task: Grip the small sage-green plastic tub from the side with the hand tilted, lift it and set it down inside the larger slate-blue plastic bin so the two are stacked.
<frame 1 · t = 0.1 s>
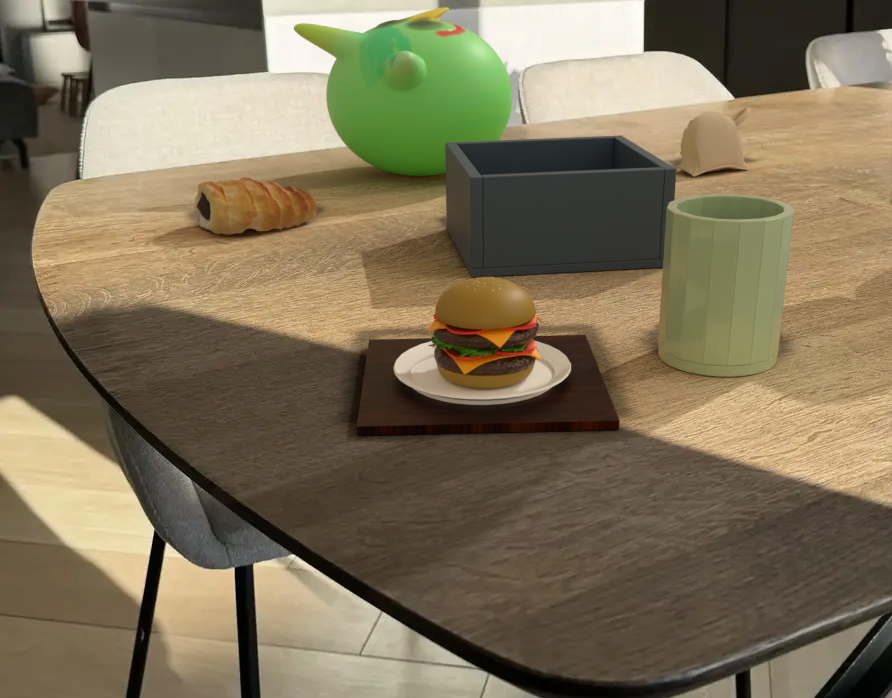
pastry: (250, 228, 89), on the table
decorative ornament: (714, 172, 106), on the table
toy bird: (416, 176, 106), on the table
hamburger: (482, 388, 57), on the table
tub: (716, 356, 60), on the table
bin: (550, 247, 81), on the table
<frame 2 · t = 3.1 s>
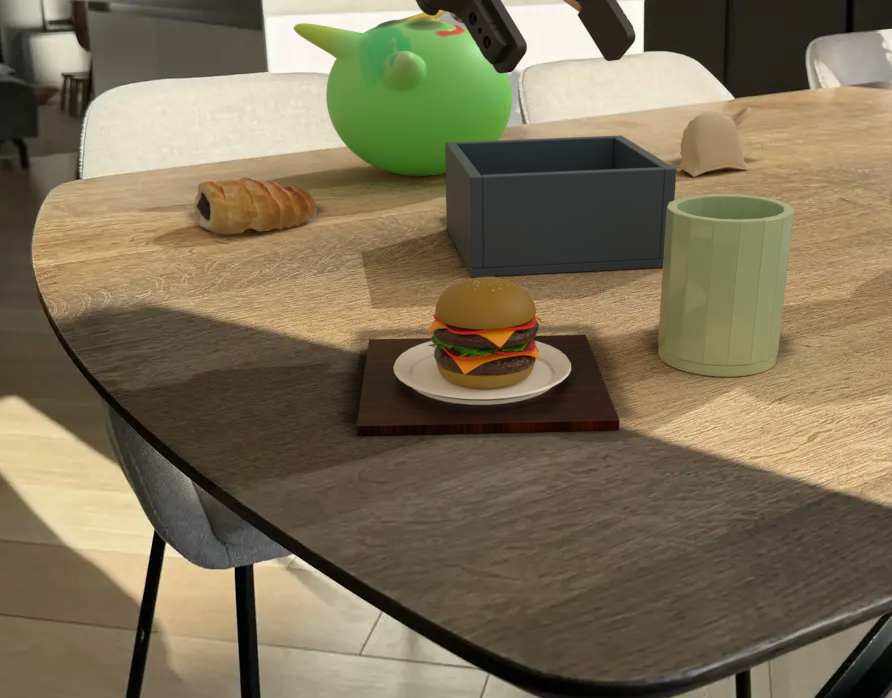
hand: (571, 56, 61), 15 cm above the table, tool tilted 45°, fingers open, 8 cm apart
nothing on the table moved.
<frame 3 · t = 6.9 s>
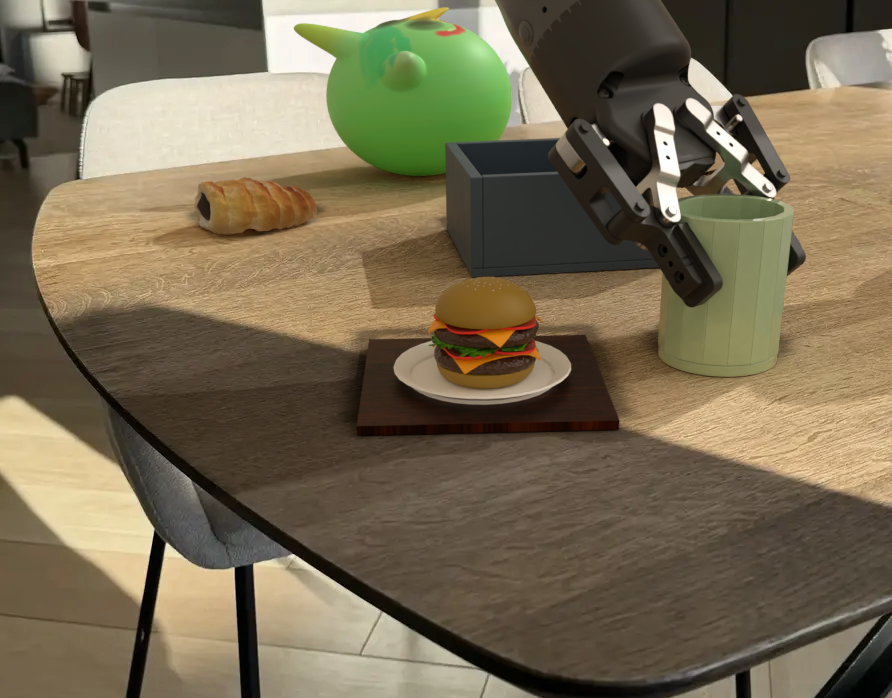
hand: (750, 283, 57), 4 cm above the table, tool tilted 45°, fingers closed on tub, 6 cm apart
tub: (716, 356, 60), on the table, touching gripper
everything else where it was.
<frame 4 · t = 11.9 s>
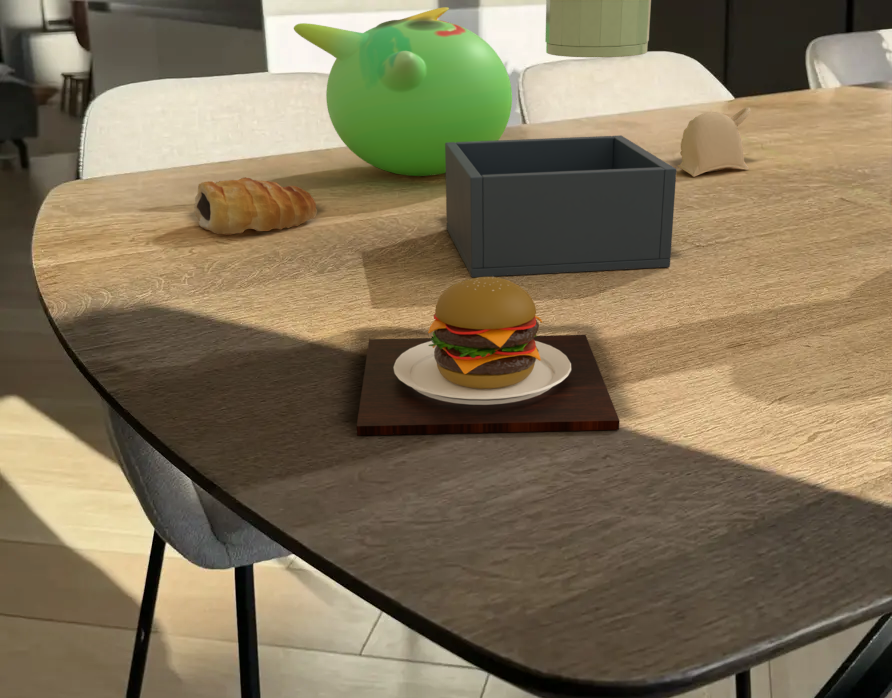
tub: (596, 52, 69), point 14 cm above the table, touching gripper
everything else where it was.
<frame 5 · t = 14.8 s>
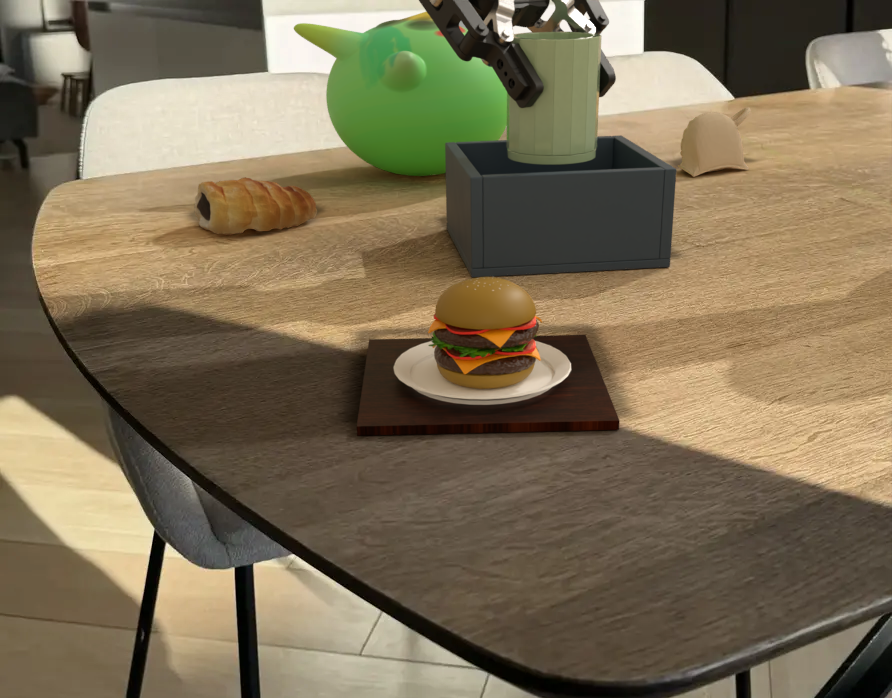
hand: (570, 94, 75), 11 cm above the table, tool tilted 45°, fingers closed on tub, 6 cm apart
tub: (551, 156, 78), point 6 cm above the table, touching gripper
everything else where it was.
when the fingers open (5 cm above the table, at t = 17.0 s): tub stays where it is, resting on bin.
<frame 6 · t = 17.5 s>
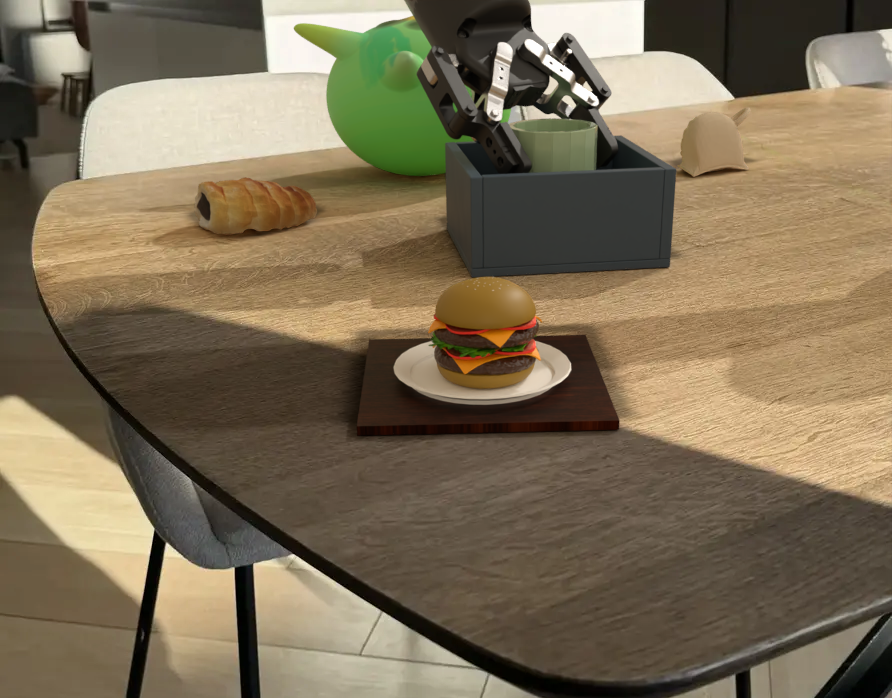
hand: (566, 168, 77), 6 cm above the table, tool tilted 45°, fingers open, 8 cm apart
tub: (549, 238, 81), point 1 cm above the table, touching bin
everything else where it was.
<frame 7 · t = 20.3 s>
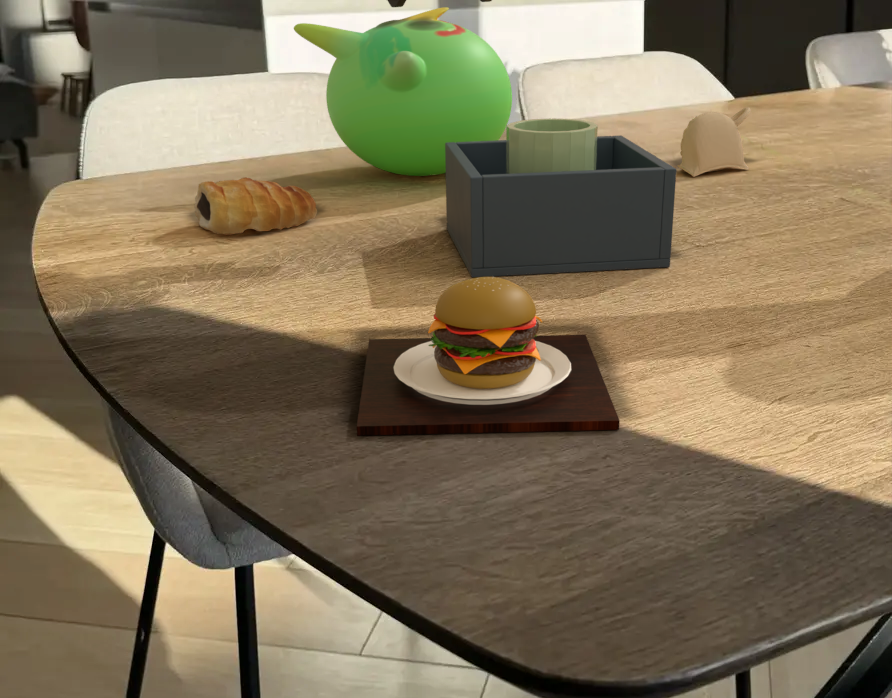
nothing on the table moved.
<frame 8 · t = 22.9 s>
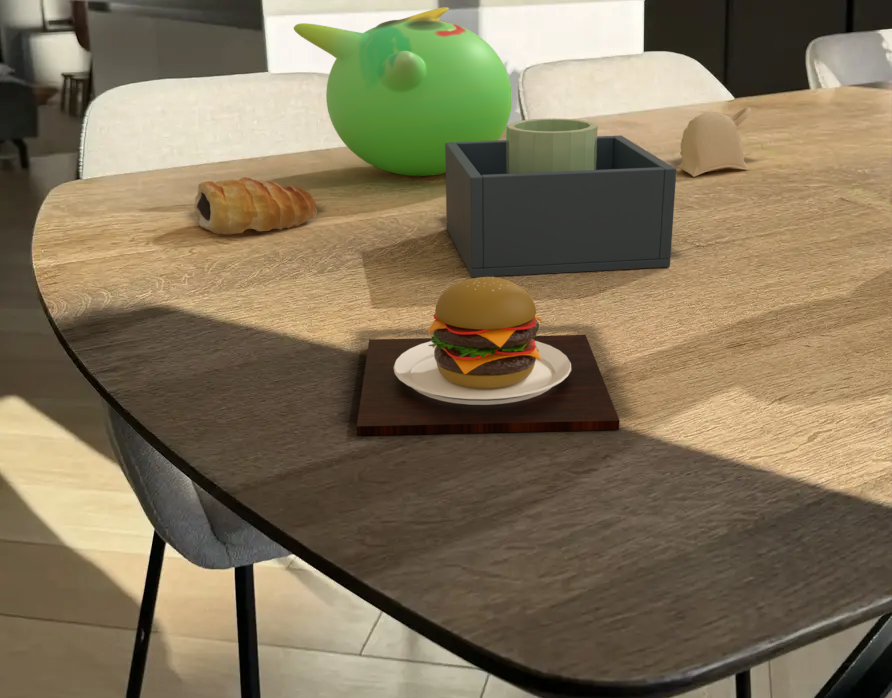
nothing on the table moved.
at the end: tub inside the target area in the bin (0.1 cm from its centre), point 0.6 cm above the bin's base; tub tilted 0°; the gripper is holding nothing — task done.
